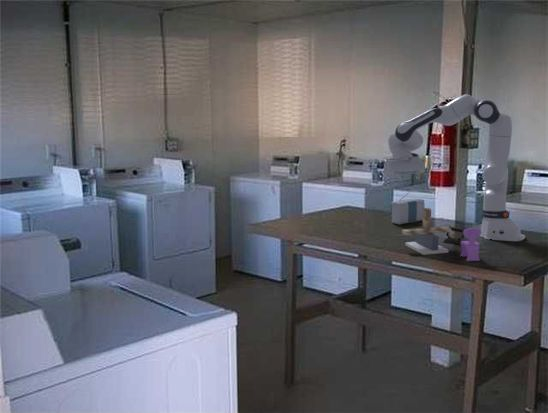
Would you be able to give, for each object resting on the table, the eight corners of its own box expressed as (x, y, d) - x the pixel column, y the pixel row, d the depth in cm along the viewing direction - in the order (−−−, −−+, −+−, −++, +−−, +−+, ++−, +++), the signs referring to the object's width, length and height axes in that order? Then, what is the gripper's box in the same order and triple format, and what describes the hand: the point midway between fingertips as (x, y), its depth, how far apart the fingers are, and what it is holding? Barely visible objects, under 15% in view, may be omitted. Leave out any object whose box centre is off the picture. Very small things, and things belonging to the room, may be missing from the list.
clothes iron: (448, 240, 318) (453, 222, 316) (467, 249, 311) (473, 230, 308) (441, 242, 313) (447, 223, 310) (461, 250, 306) (467, 231, 303)
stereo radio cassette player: (399, 225, 357) (400, 191, 354) (389, 223, 364) (390, 190, 360) (425, 220, 368) (425, 188, 365) (414, 219, 375) (415, 186, 372)
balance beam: (447, 230, 303) (447, 206, 301) (451, 232, 299) (451, 207, 297) (401, 233, 298) (402, 209, 296) (405, 235, 294) (405, 210, 292)
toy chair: (475, 255, 285) (476, 224, 283) (482, 260, 277) (483, 227, 274) (457, 256, 285) (458, 224, 283) (464, 261, 276) (465, 228, 274)
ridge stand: (405, 245, 308) (405, 229, 307) (429, 243, 311) (429, 228, 310) (423, 254, 289) (423, 238, 288) (448, 252, 292) (448, 236, 290)
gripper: (385, 155, 322) (392, 176, 315) (421, 154, 326) (429, 174, 319) (382, 163, 327) (389, 183, 320) (417, 161, 331) (425, 181, 324)
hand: (409, 179), depth 319 cm, fingers open, 8 cm apart
